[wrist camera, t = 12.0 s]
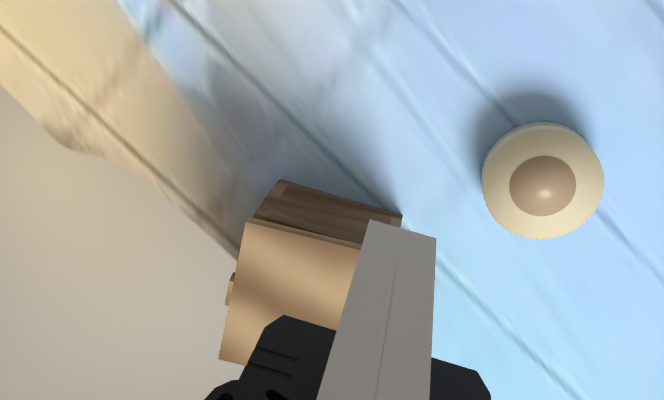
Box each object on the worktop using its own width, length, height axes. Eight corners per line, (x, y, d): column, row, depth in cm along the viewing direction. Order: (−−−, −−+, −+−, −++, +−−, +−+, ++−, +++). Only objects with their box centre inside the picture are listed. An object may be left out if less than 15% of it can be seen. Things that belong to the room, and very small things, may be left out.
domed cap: (501, 108, 44) (505, 117, 42) (614, 138, 43) (623, 148, 41) (467, 208, 47) (468, 221, 45) (571, 237, 47) (577, 252, 44)
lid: (244, 213, 42) (241, 220, 41) (396, 250, 42) (396, 258, 41) (218, 348, 46) (214, 358, 45) (355, 381, 47) (354, 392, 45)
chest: (277, 179, 49) (251, 213, 43) (402, 215, 48) (395, 255, 42) (252, 294, 53) (225, 341, 47) (367, 329, 53) (355, 381, 46)
